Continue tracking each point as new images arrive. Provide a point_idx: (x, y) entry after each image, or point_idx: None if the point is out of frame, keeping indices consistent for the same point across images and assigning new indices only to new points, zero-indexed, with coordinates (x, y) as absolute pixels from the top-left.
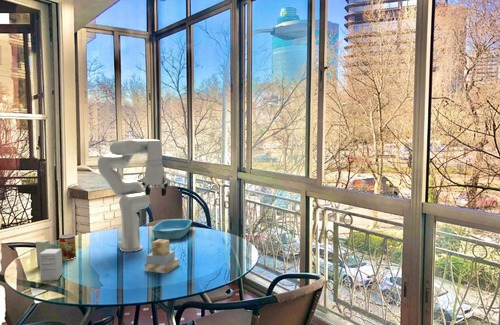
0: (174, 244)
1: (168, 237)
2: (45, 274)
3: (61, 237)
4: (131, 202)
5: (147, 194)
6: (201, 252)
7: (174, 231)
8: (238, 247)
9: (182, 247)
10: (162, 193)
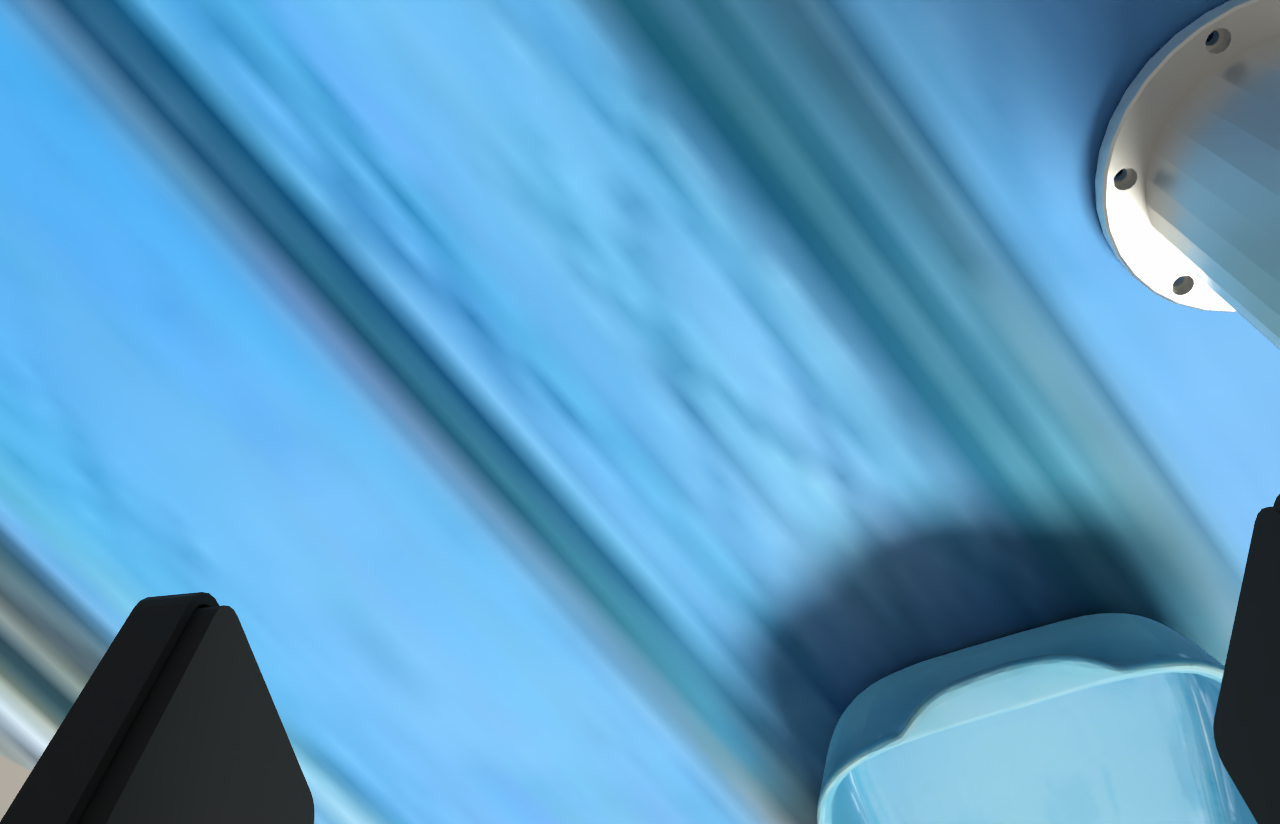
0: (789, 524)
1: (970, 650)
2: None
3: None
4: None
5: (1265, 561)
6: (264, 390)
7: (900, 722)
8: (48, 671)
9: (616, 465)
10: (90, 691)
